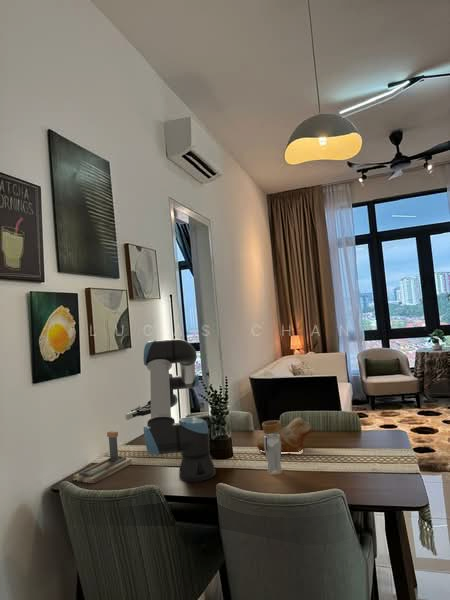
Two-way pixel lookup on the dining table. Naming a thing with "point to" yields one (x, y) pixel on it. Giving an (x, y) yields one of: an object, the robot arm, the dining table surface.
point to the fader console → (102, 470)
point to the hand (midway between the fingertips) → (126, 416)
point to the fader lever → (113, 446)
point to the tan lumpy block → (286, 434)
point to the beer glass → (273, 452)
